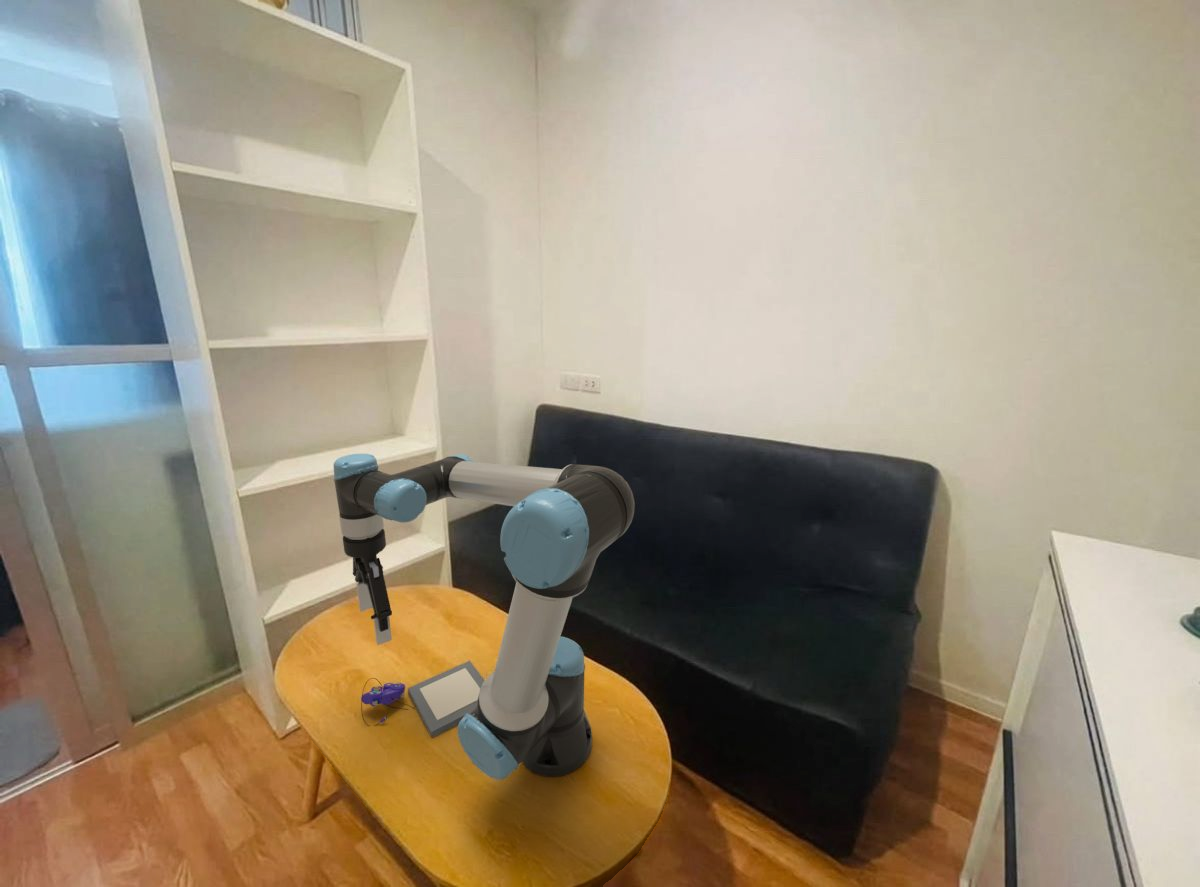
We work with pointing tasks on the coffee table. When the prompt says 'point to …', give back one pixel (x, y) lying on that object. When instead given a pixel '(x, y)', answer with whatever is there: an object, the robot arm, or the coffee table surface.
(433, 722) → the grey picture frame
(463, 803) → the coffee table surface
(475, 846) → the coffee table surface
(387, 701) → the game controller
